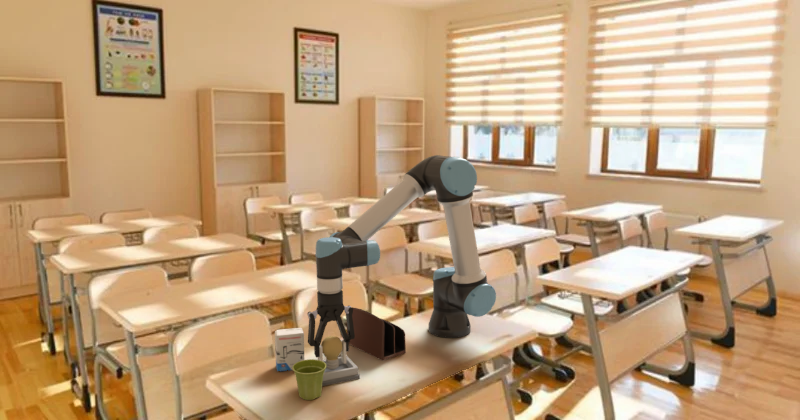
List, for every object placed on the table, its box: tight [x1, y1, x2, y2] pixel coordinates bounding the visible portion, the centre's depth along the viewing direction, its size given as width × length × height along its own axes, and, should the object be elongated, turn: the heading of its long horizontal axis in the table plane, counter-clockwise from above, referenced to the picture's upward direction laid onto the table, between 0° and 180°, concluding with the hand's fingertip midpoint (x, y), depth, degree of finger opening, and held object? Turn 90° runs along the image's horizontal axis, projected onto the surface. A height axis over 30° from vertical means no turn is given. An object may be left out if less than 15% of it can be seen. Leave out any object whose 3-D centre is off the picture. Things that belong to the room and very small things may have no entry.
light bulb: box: [320, 335, 342, 370], centre depth 181 cm, size 6×6×10 cm
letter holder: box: [346, 306, 407, 362], centre depth 201 cm, size 10×20×14 cm, turn 41°
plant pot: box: [292, 358, 326, 401], centre depth 168 cm, size 9×9×9 cm
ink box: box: [274, 327, 305, 372], centre depth 187 cm, size 9×5×12 cm, turn 105°
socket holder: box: [322, 355, 361, 387], centre depth 181 cm, size 13×12×3 cm
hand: (332, 363), depth 181 cm, fingers open, 7 cm apart
